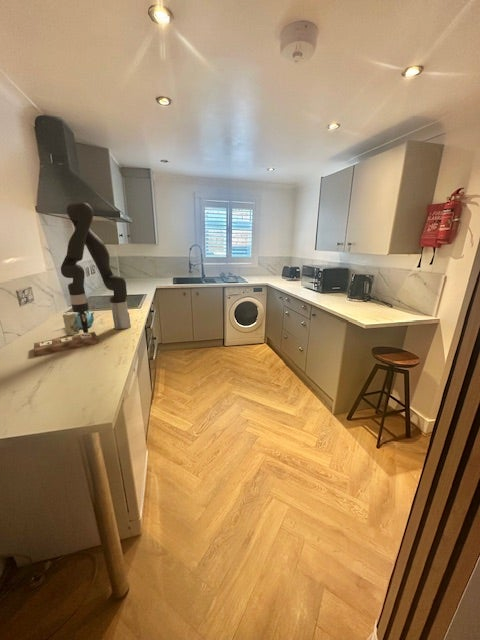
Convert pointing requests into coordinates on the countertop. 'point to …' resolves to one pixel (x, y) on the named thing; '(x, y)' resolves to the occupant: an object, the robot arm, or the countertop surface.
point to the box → (70, 323)
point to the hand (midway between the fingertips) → (85, 332)
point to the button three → (85, 336)
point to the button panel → (65, 344)
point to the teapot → (89, 319)
